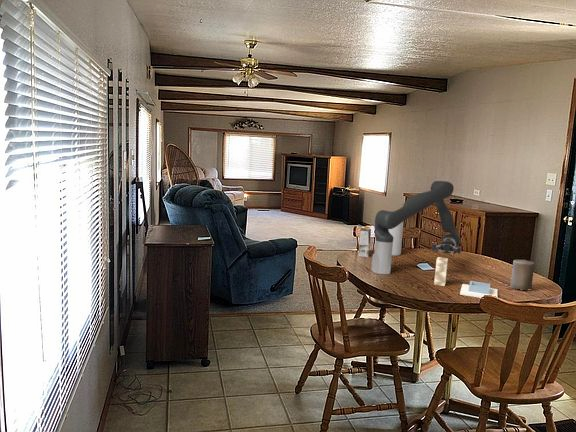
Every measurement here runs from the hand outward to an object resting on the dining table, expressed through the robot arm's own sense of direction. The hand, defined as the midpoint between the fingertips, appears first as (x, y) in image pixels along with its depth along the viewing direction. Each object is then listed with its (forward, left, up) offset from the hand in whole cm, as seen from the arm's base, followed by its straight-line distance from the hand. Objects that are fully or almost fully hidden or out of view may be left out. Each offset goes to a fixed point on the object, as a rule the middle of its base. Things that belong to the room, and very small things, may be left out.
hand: (445, 251), depth 248 cm
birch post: (-7, -9, -15) cm, 19 cm away
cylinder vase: (-4, +58, -15) cm, 60 cm away
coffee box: (-24, +53, -15) cm, 60 cm away
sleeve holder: (+5, -24, -15) cm, 29 cm away
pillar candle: (+33, -17, -15) cm, 40 cm away
